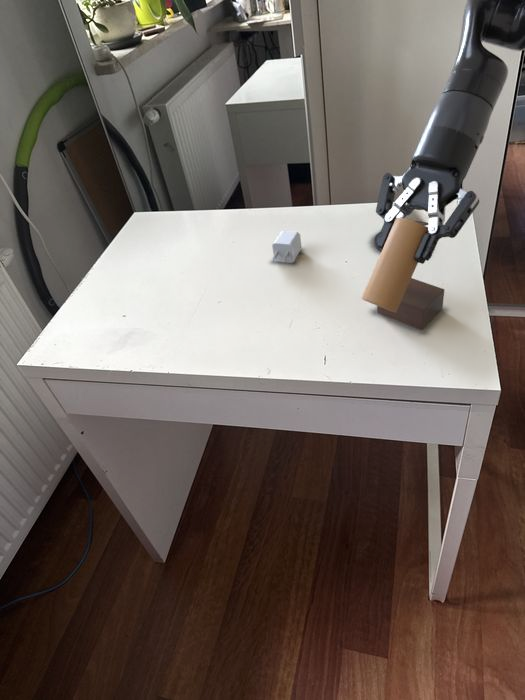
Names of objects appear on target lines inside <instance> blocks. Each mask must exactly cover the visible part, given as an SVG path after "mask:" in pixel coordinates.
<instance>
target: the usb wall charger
mask: <svg viewBox="0 0 525 700" xmlns="http://www.w3.org/2000/svg"><path fill="white" fill-rule="evenodd" d="M271 247H272V253H273V257H272V262H275V261H276V262H277V263H283V264H284V263H289V264H290V263H292V264H293V263H294V261H295V260H296V258H297V257H298V255H299V253H300V252H301V250H302V239H301V233H299V232H298V231H288V230H282V231H280V232H279V234H278V235H277V237H276V238H275V240H274V241H273V243H272V245H271Z"/></svg>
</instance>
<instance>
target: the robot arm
mask: <svg viewBox="0 0 525 700" xmlns="http://www.w3.org/2000/svg"><path fill="white" fill-rule="evenodd" d="M483 43H485V44H488V45H491V46H494V47H495V46H496V47H498V48H502V49H505V50H508V51H509V50H510V51H514V52H522V51H525V0H466V3H465V6H464V11H463V16H462V24H461V33H460V40H459V46H458V50H457V54H456V58H455V61H454V64H453V67H452V70H451V73H450V74H449V77H448V79H447V82H446V84H445V87H444V88H443V91H442V93H441V95H440V97H439V100H437V102H436V105H435V106H434V108H433V109H432V112H431V114H430V117H429V118H428V121H427V123H426V125H425V128H424V129H423V133H422V135H421V138H420V140H419V142H418V144H417V147H416V149H415V151H414V154H413V157H412V159H411V162H410V166H409V168H408V169H407V170H406V171H405V172H404V173H403V175H392V174H391V173H390V172H386V173H385V174H384V175H383V177H382V182H381V184H380V185H381V186H380V189H379V195H378V199H377V204H376V208H375V213H376V214H377V216H379V217H380V218H382V219H383V225H382V227H381V229H380V231H379V232H380V234H379V236H378V239H377V244H378V249H380V250H381V251H382V249H383V247H384V245H385V242H386V240H387V238H388V235H389V233H390V231H391V228H392V226H393V224H394V221H395V219H396V218H405V219H406V217H408V216H410V215H411V214H412V213H413V212H414V211H415V210H416V211H425V212H426V213H427V216H428V225H427V227H428V234H427V233H425V234H424V236H423V239H422V241H421V243H420V246H419V248H418V250H417V252H416V255H415V257H414V260H415V261H417V262H418V264H421V265H423V264H425V262H426V261H427V262H428V261H429V260H430V259H431V257H432V256H433V254H434V251H435V249H436V247H437V244H438V242H439V241H440V240H441V239H443V238H450V239H454V238H456V237H457V235H458V234H459V232H460V231H461V230H462V228H463V227H464V225H465V224H466V223H467V221H468V220H469V218H470V217H471V216H472V214H473V213H474V211H475V210H476V208H478V206H479V204H480V198H479V197H478V196H477V194H476V193H475V192H474V191H473V190H469V191H468V190H467V189H464V188H463V182H464V180H465V179H466V177H467V175H468V172H469V171H470V168H471V165H472V164H473V162H474V159H475V157H476V155H477V153H478V150H479V148H480V146H481V145H482V143H483V141H484V138H485V134H486V132H487V129H488V126H489V123H490V120H491V116H492V113H493V112H494V109H495V107H496V105H497V103H498V100H499V98H500V96H501V94H502V91H503V89H504V87H505V84H506V83H507V79H508V75H509V68H508V65H507V64H506V63H505V61H504V60H503V59H502V58H500V57H499V56H498V55H496V54H495V53H493V52H491V51H490V50H489V49H488V48H486V47H485V46H484V45H483ZM401 186H402V190H403V192H402V193H401V194H399V197H398V198H397V199H396V200H395V197H396V193H398V192H399V191H400V188H401ZM455 200H456V204H457V206H456V207H455V209H453V211H452V213H451V214H450V215H449V217H448V219H447V220H446V209H447V208H446V207H447V206H448V205H450V204H452V202H454V201H455ZM445 221H446V222H445ZM378 249H377V250H378ZM381 251H380V252H381Z"/></svg>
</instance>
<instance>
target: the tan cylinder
mask: <svg viewBox="0 0 525 700" xmlns="http://www.w3.org/2000/svg"><path fill="white" fill-rule="evenodd" d="M425 233H427V234H428V226H426V225H424V224H422V223H420V222H417V221H415V220H412V219H409V218H406V217H405V218H396V219H395V221H394V224H393V226H392V228H391V231H390V233H389V235H388V238H387V240H386V242H385V245H384V247H383V249H382V252H381V251H380V254H379V256H378V259H377V261H376V263H375V265H374V268H373V270H372V273H371V275H370V277H369V280H368V282H367V284H366V287H365V289H364V292H363V293H362V296H361V300H363V301H365V302H367V303H370V304H372V305H374V306H376V307H377V306H379V307H382V308H384V309H387V310H389V311H392V312H395V313H396V311H397V309H398V307H399V305H400V302H401V300H402V298H403V296H404V293H405V291H406V289H407V287H408V284H409V282H410V280H411V278H413V275H414V272H415V270H416V268H417V266H418V264H419V263H418V262H417V261H415V260H414V257H415V255H416V252H417V250H418V248H419V246H420V243H421V241H422V239H423V236H424V234H425Z"/></svg>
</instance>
